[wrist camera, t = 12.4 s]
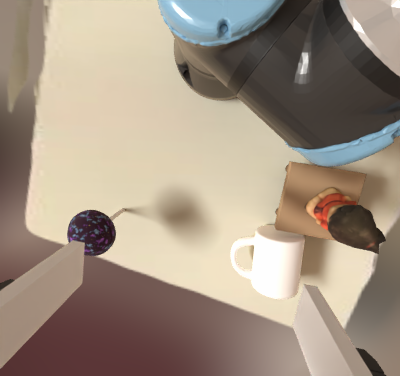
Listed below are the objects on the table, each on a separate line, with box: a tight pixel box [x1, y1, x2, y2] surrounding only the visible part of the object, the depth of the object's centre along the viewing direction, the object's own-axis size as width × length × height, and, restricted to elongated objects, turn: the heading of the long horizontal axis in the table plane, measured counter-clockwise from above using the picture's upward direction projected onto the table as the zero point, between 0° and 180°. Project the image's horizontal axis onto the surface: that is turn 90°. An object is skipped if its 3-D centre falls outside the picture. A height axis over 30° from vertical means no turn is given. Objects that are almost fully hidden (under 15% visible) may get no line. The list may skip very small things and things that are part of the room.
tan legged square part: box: [274, 162, 366, 241], centre depth 42 cm, size 11×11×6 cm
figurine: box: [305, 187, 386, 254], centre depth 33 cm, size 6×6×12 cm
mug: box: [231, 225, 305, 299], centre depth 44 cm, size 12×10×8 cm
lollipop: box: [67, 208, 125, 256], centre depth 41 cm, size 7×7×15 cm
